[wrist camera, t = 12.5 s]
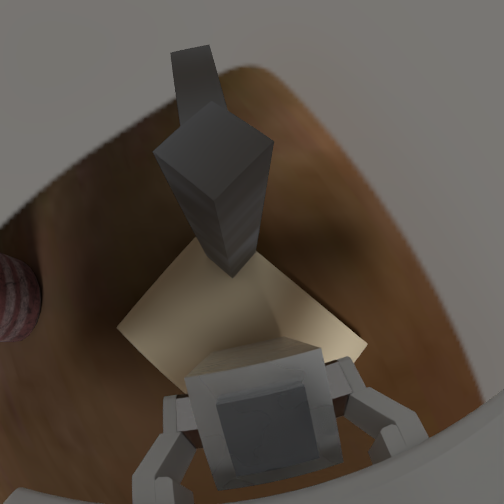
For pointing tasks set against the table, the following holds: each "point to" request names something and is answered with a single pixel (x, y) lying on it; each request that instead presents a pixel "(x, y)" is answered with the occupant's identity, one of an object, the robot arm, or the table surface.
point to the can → (17, 299)
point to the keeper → (221, 243)
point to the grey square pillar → (264, 412)
